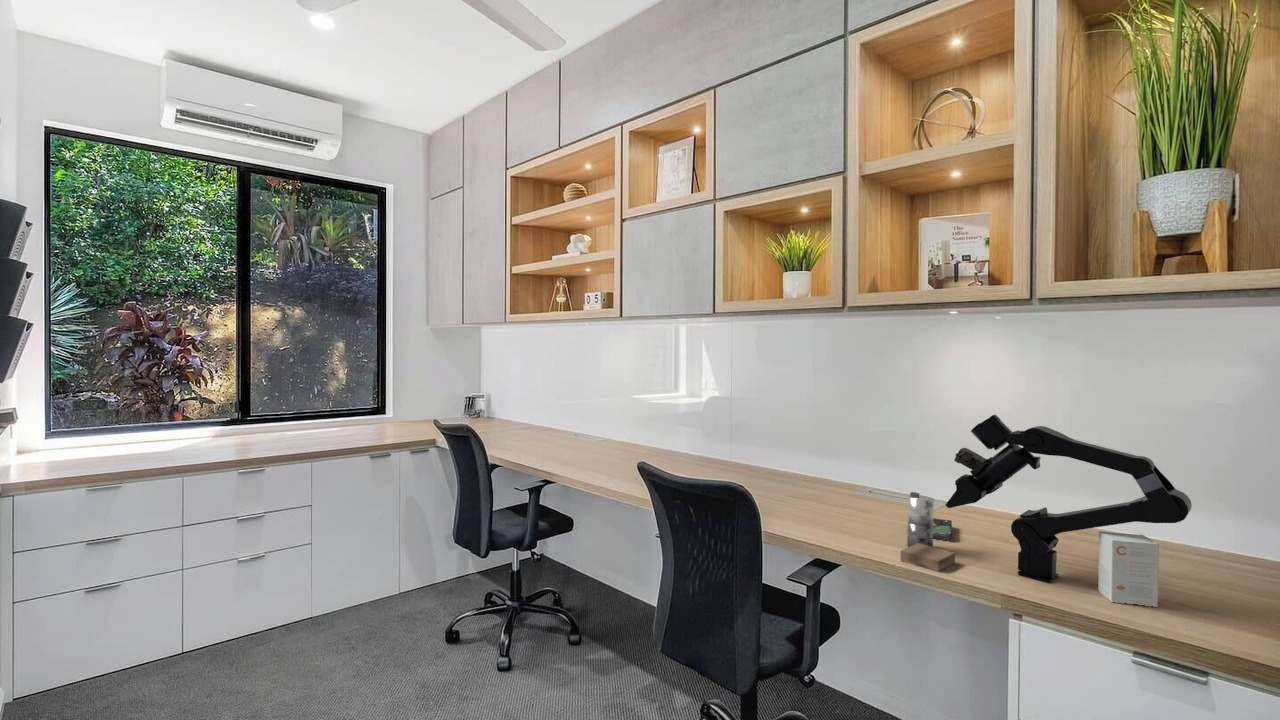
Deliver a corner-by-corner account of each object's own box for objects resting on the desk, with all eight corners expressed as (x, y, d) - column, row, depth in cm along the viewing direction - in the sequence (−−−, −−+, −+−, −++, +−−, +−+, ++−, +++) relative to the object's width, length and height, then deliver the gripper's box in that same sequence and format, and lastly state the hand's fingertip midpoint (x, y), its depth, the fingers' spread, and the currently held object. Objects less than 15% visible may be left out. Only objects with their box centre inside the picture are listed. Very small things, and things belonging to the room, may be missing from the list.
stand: (954, 562, 144) (955, 552, 144) (938, 571, 138) (938, 561, 138) (917, 552, 151) (917, 543, 151) (900, 560, 145) (900, 550, 145)
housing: (936, 548, 154) (938, 494, 154) (926, 553, 150) (927, 498, 150) (913, 542, 159) (914, 490, 159) (903, 547, 155) (904, 493, 155)
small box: (1142, 595, 126) (1143, 534, 125) (1158, 608, 120) (1160, 543, 119) (1096, 590, 128) (1098, 530, 128) (1110, 602, 122) (1112, 539, 122)
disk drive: (912, 524, 177) (909, 538, 164) (912, 515, 177) (910, 527, 164) (951, 529, 172) (952, 543, 159) (951, 520, 172) (952, 533, 159)
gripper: (988, 434, 151) (942, 471, 159) (965, 442, 138) (915, 482, 146) (1024, 470, 146) (974, 506, 154) (1003, 481, 133) (949, 521, 141)
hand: (953, 503), depth 149 cm, fingers open, 9 cm apart
